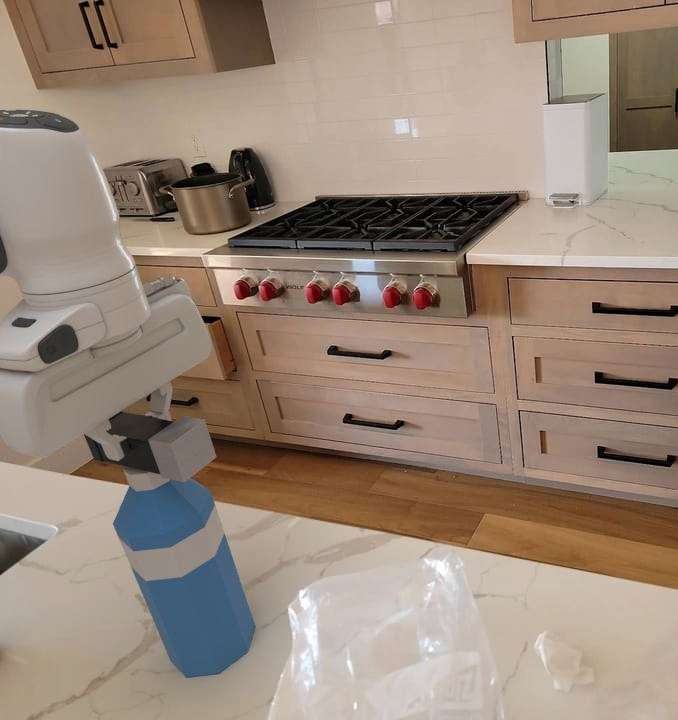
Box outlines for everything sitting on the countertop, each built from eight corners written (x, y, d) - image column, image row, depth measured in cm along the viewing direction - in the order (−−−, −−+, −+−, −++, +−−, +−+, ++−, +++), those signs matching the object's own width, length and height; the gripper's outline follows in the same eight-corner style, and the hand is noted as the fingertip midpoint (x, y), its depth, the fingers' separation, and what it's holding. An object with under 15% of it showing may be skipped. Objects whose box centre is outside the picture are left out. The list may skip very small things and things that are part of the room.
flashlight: (92, 461, 66) (76, 424, 64) (127, 438, 69) (113, 403, 67) (184, 483, 61) (170, 444, 59) (217, 457, 65) (205, 419, 63)
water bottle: (221, 687, 72) (148, 498, 61) (151, 668, 75) (70, 485, 64) (272, 619, 80) (216, 441, 68) (207, 604, 83) (143, 431, 72)
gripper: (157, 266, 68) (195, 386, 74) (-50, 354, 52) (20, 499, 58) (205, 269, 66) (240, 393, 72) (3, 363, 49) (71, 513, 55)
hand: (141, 441), depth 65 cm, fingers closed on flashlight, 3 cm apart
